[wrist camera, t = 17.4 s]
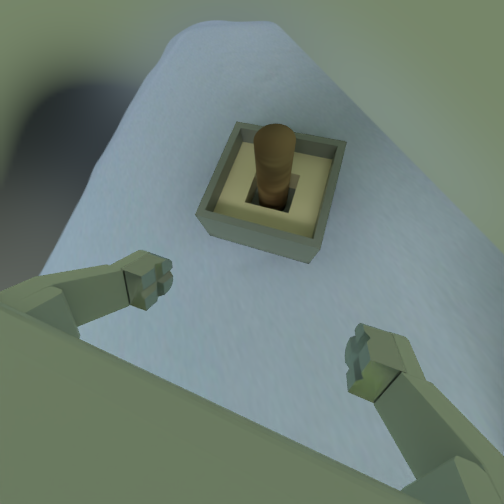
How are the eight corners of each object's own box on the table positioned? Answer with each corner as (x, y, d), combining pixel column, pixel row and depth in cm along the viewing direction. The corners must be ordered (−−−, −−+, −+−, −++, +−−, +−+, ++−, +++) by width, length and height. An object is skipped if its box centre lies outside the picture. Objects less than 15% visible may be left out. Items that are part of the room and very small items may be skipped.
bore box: (331, 175, 34) (346, 141, 28) (308, 263, 30) (320, 249, 24) (242, 156, 37) (236, 121, 30) (209, 235, 33) (195, 214, 26)
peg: (289, 193, 33) (300, 127, 21) (282, 216, 32) (289, 161, 20) (263, 187, 34) (260, 120, 22) (255, 210, 32) (247, 152, 21)
